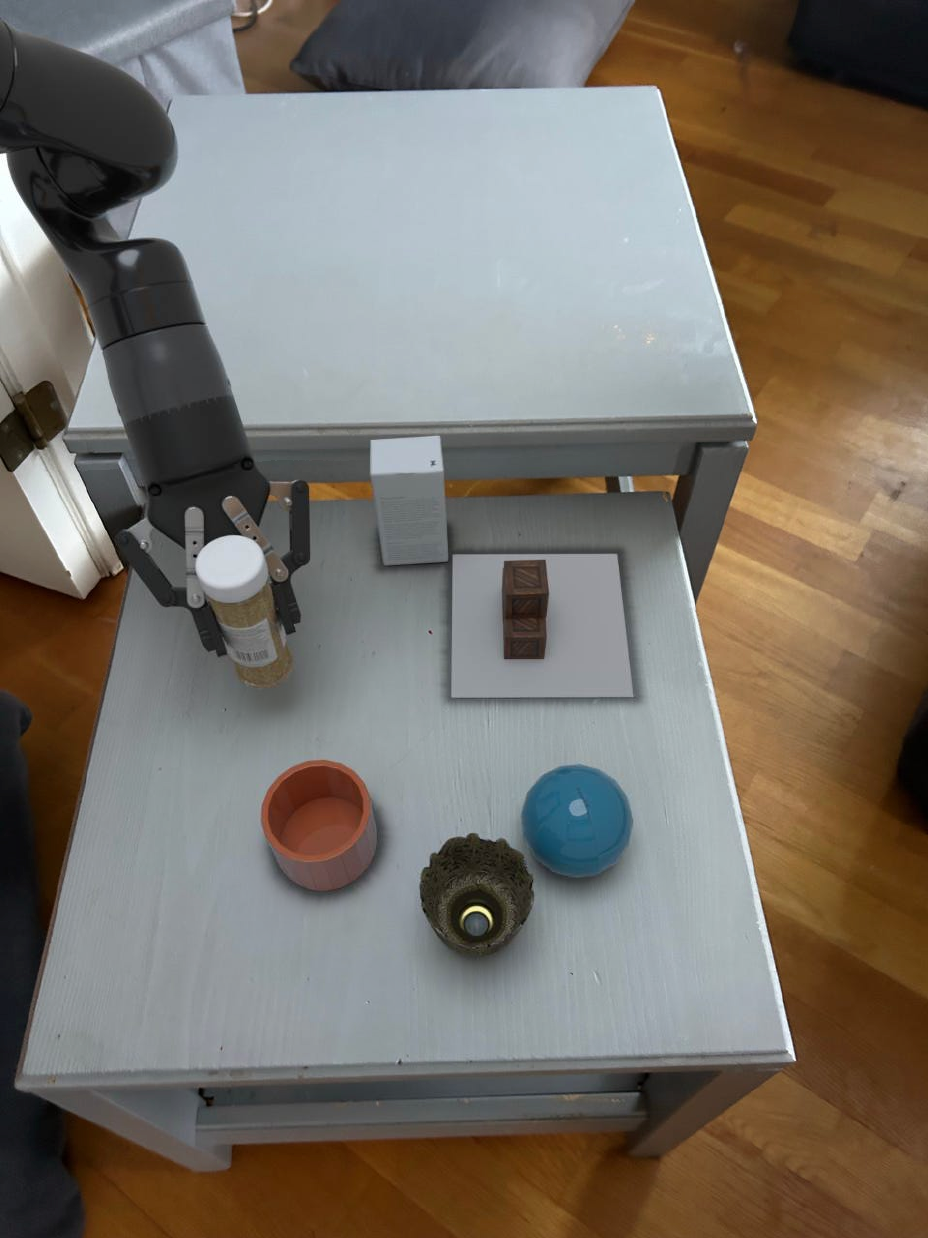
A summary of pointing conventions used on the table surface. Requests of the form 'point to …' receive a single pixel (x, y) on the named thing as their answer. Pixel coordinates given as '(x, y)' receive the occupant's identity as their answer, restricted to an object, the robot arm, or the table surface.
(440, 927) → the cup
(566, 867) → the ball
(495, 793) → the table surface
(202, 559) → the sprinkles bottle
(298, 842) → the pot
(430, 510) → the cosmetic box
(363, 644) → the table surface
